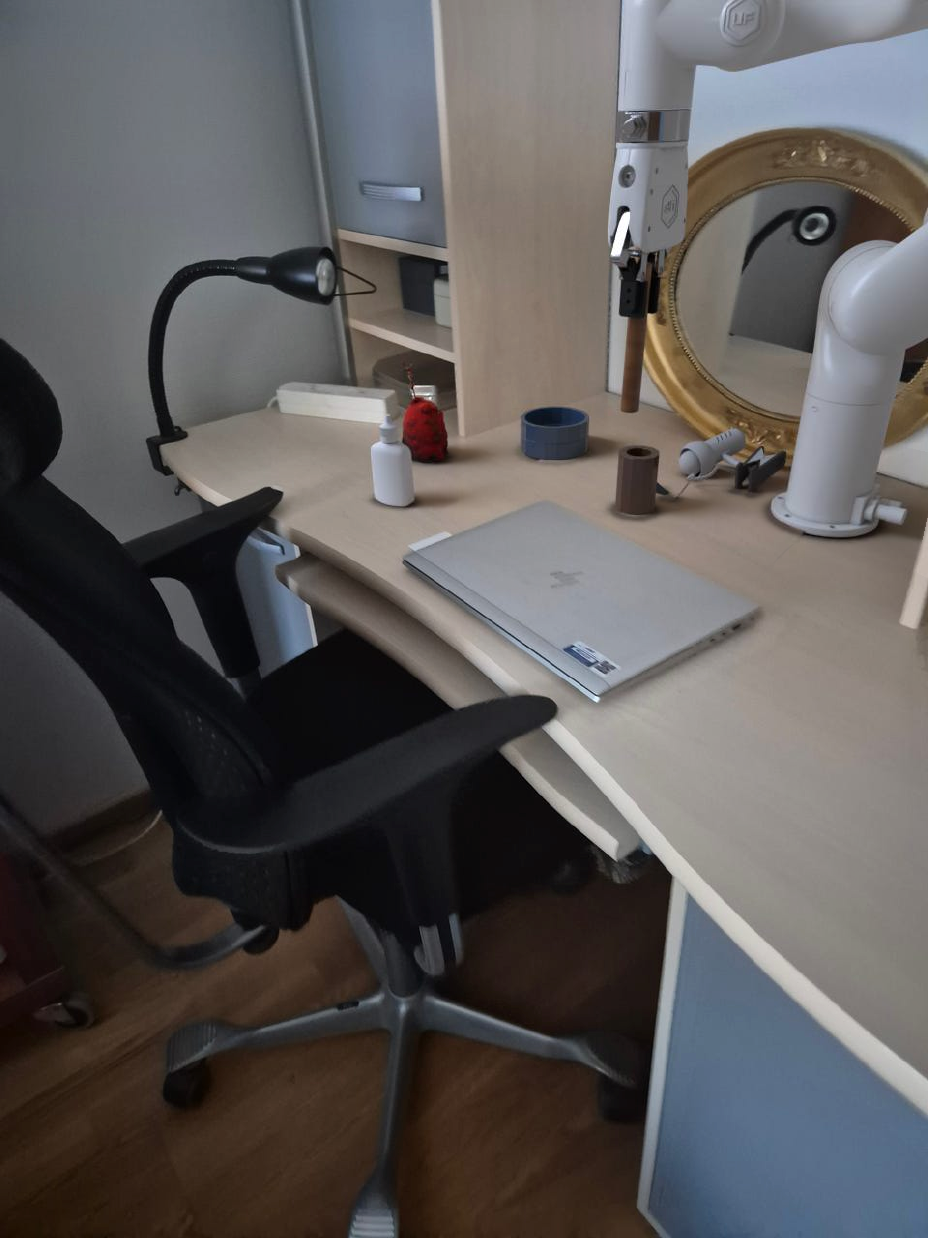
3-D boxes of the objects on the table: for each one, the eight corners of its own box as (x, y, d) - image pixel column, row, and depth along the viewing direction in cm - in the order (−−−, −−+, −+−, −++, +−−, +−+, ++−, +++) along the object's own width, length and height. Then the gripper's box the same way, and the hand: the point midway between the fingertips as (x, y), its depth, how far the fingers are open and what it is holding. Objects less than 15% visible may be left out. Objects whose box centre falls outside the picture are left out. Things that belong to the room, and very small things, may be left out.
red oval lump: (455, 460, 123) (451, 360, 115) (411, 468, 121) (404, 367, 113) (438, 445, 129) (433, 349, 121) (396, 452, 127) (388, 355, 119)
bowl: (600, 448, 125) (602, 413, 122) (562, 468, 119) (563, 432, 116) (546, 435, 131) (546, 402, 128) (507, 454, 124) (506, 419, 121)
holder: (660, 508, 106) (666, 450, 101) (641, 522, 102) (646, 462, 98) (627, 499, 108) (631, 442, 104) (607, 512, 105) (611, 453, 101)
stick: (641, 409, 101) (655, 262, 92) (632, 414, 99) (646, 265, 90) (625, 406, 102) (638, 260, 93) (617, 411, 101) (629, 263, 92)
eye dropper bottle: (401, 490, 114) (394, 406, 108) (417, 504, 110) (411, 417, 103) (372, 497, 112) (363, 412, 106) (388, 511, 108) (380, 423, 102)
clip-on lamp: (686, 533, 106) (791, 477, 110) (686, 493, 102) (795, 436, 106) (630, 495, 114) (729, 444, 118) (628, 456, 110) (731, 405, 114)
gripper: (647, 133, 78) (632, 331, 87) (719, 127, 88) (698, 305, 98) (581, 134, 82) (573, 324, 92) (656, 129, 92) (642, 299, 102)
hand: (638, 313), depth 95 cm, fingers closed on stick, 2 cm apart
